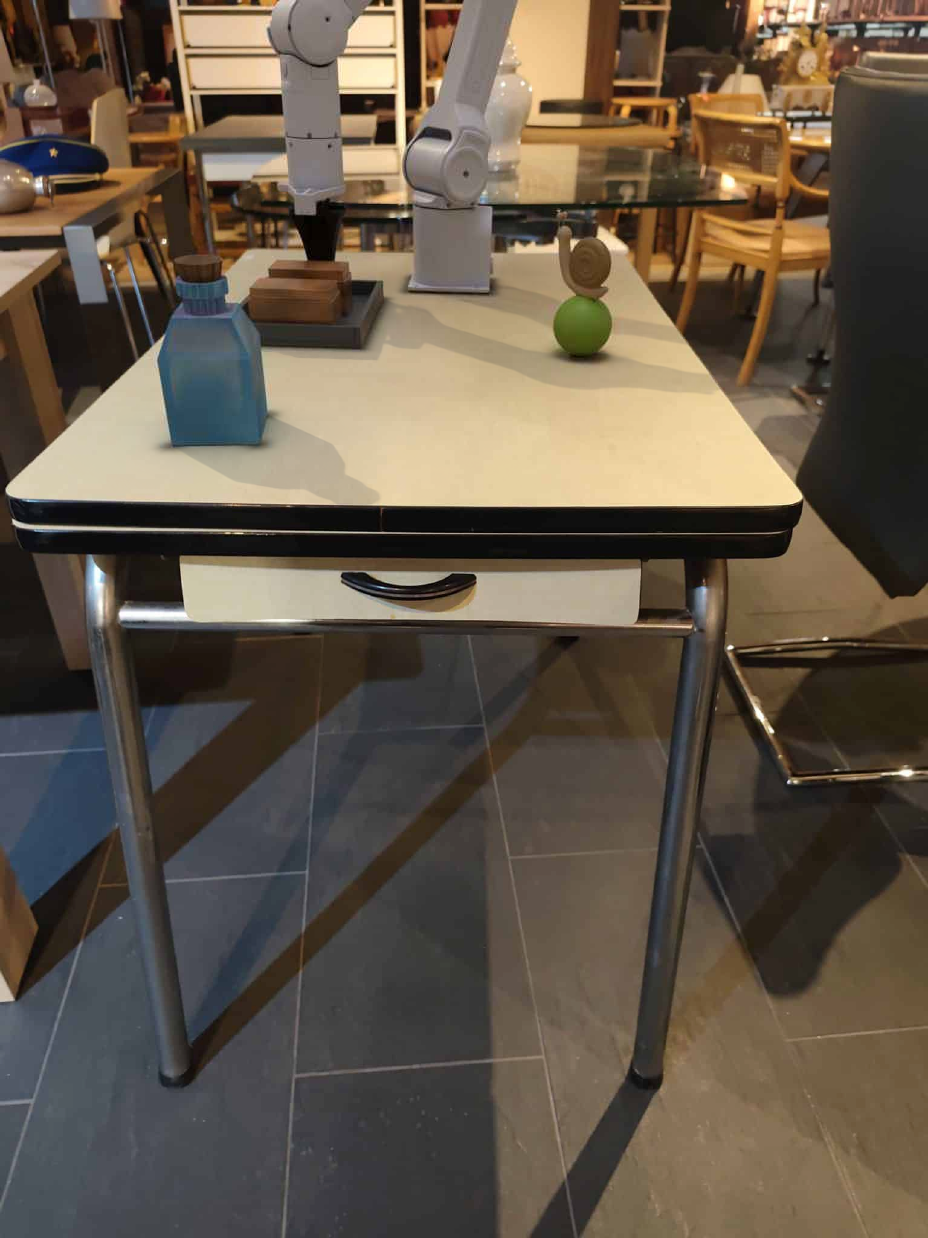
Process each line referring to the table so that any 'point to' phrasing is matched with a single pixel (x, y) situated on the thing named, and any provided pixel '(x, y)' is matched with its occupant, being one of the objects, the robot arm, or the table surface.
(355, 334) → the tray
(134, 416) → the table surface
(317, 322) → the brown wooden block
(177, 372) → the perfume bottle
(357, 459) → the table surface
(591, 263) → the snail figurine
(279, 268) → the brown lidded wooden box
